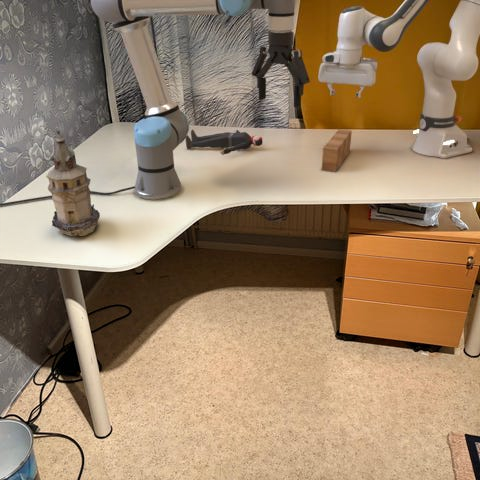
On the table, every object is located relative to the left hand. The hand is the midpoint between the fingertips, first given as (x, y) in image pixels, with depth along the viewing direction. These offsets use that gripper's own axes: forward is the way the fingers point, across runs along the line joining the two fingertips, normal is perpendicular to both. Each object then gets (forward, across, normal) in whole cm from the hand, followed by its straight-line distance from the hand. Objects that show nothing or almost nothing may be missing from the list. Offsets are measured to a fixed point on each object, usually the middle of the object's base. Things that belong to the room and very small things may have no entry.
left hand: (279, 102), depth 169 cm
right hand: (+5, -2, -38) cm, 38 cm away
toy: (+28, +38, -16) cm, 50 cm away
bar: (+28, -4, -31) cm, 42 cm away
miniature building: (+28, +26, +62) cm, 73 cm away
